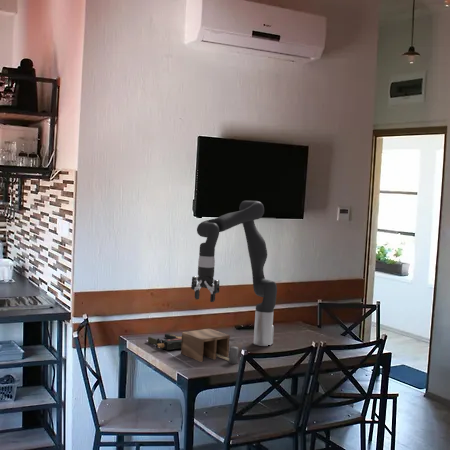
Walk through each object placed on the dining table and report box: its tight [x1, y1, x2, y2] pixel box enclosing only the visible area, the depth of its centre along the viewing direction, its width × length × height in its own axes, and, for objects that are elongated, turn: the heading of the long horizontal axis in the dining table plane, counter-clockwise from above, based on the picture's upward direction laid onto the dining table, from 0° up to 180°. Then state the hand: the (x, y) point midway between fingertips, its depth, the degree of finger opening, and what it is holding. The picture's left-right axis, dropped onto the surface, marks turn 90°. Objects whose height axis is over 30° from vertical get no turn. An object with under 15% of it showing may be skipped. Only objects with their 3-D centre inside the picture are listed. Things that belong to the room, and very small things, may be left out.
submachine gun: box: [147, 333, 182, 351], centre depth 311 cm, size 29×5×25 cm
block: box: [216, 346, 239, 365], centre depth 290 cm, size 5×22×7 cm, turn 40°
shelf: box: [180, 328, 231, 362], centre depth 293 cm, size 17×15×10 cm
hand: (204, 300), depth 288 cm, fingers open, 8 cm apart
